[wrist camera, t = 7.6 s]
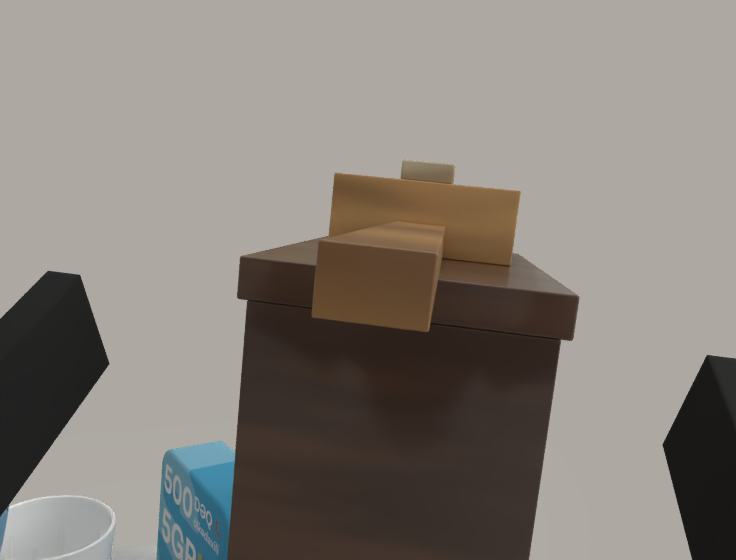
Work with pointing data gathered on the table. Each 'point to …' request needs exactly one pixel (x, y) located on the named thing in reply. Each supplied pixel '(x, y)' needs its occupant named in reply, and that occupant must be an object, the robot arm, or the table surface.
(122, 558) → the table surface
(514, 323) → the dark wooden cabinet
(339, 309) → the wooden box with handle
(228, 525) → the data package
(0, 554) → the white cup
